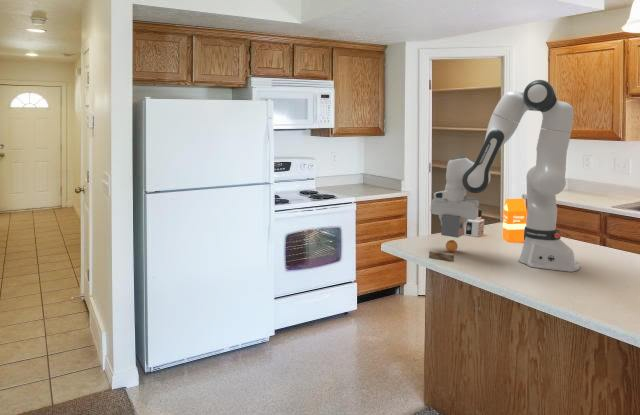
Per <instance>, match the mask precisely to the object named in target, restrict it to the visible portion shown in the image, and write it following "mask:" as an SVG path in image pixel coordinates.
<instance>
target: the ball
mask: <svg viewBox="0 0 640 415" xmlns="http://www.w3.org/2000/svg"><path fill="white" fill-rule="evenodd" d="M445 248H446V250H447V251H448V252H450V253H452V252H455V251H457V249H458V243H457V241H455V240H453V239H452V240H448V241H447V242H446V243H445Z"/></svg>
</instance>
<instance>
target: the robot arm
mask: <svg viewBox="0 0 640 415" xmlns="http://www.w3.org/2000/svg"><path fill="white" fill-rule="evenodd" d="M527 111H532V112H533V111H534V112H536V111H537V112H540V113H541V114H542V122H541V125H540V130H539V134H538V139H537V144H536V148H535V149H536V160H535V166H534V165H533V166H532V167H531V168H530V169H528V171H527V173H526V201H527V202H526V204H527V205H526V210H527V219H526V226H525V229H524V242H523V244H522V249H521V252H520V255H519V258H518V261H519V262H520V263H522V264H525V265H527V266H528V267H529V268H535V269H536V268H537V269H545V270H554V271H562V272H569V273H570V272H572V273H573V272H577V271H578V270H580V269H581V268H580V267H581V264H580V263H579V262H578V261H575V253H574V251H573V249H572V248H571V247H570V246H568V244H566V243H565V242H564V241H563V240H561V236H562V231H561V230H560V231H559V230H558V229H557V228H556V227H557V218H558V206H557V197H556V196H557V195H559V194H561V193H562V191H563V190H565V186H566V182H567V181H566V171H567V156H568V155H567V154H568V149H569V144H570V140H571V136H572V129H573V124H574V113H575V112H574V111H575V110H574V106H572V104H570V103H568V102H566V101H561V100H558V99H557V93H556V89H555V87H554V86H553V84H551V83H550V82H548V81H546V80H544V79H536V80H533V81H530V82H529V83H528V84H527V85H526V86H525V88H524V90H523V92H520V91H517V90H509V91H506V92H505V93H504V94H503V95H502V97H501V98H500V99H499V101H498V103H497V105H496V106H495V108H494V110H493V112H492V114H491V116H490V119H489V121H488V125H487V128H486V134H485V136H484V137H485V138H484V142H483V145H482V147H481V149H480V151H479V152H478V155H477V158H476V160H475V162H474V161H473V160H470V159H468V157H466V156H460V157H459V156H458V157H457V156H456V157H453V158H450V159H449V161H448V162H447V165H446V170H445V171H446V172H445V180H446V183H445V188H444V190H441V191H437V192H434V193H433V199H432V200H431V204H430V210H429V212H430V213H431V214H432V215H438V218H439V221H440V226H442V216H443V215H444V214H445V215H452V216H459V217H461V218H464V221H465V222H464V223H463V224H461V228H462V229H465V225H466V223H467V222H468V221H469V219H472V220H474V219H476V218H478V209H479V207H480V201H479V199H478V198H477V197H476V196H473V197H472V196H468V195H467V192H469V193H472V194H479V193H481V192H484V191H485V190H486V188H488V185H490V184H489V183H490V182H491V179H492V178H491V177H492V175H491V171H490V170H491V167H492V165H493V163H494V161H495V159H496V157H497V154H498V153H499V151H500V150H501V148H502V147H503V146H504V145H505V144H506V143H507V142H508V141H509V140H511V138H512V137H513V135H514V133H515V132H516V131H517V129H518V127H519V124H520V123H521V120H522V118H523V116H524V115H525V114H526V112H527Z"/></svg>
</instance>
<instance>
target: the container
mask: <svg viewBox="0 0 640 415" xmlns="http://www.w3.org/2000/svg"><path fill="white" fill-rule="evenodd" d="M482 214H483V213H482V210H481V209H480V208H478V218H476V219H474V220H472V219H469V221H468V222H467V223H466V225H465V229H464V235H463V236H469V237H474V238H479V237H481V236H483V235H484V231H485V230H484V228H485V219H483V218H482Z"/></svg>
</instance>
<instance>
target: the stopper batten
mask: <svg viewBox="0 0 640 415" xmlns="http://www.w3.org/2000/svg"><path fill="white" fill-rule="evenodd" d="M428 258H431V259H435V260H442V261H447V262H454V261H455V254H454V253H448V252H442V251H437V250H429V251H428Z"/></svg>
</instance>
